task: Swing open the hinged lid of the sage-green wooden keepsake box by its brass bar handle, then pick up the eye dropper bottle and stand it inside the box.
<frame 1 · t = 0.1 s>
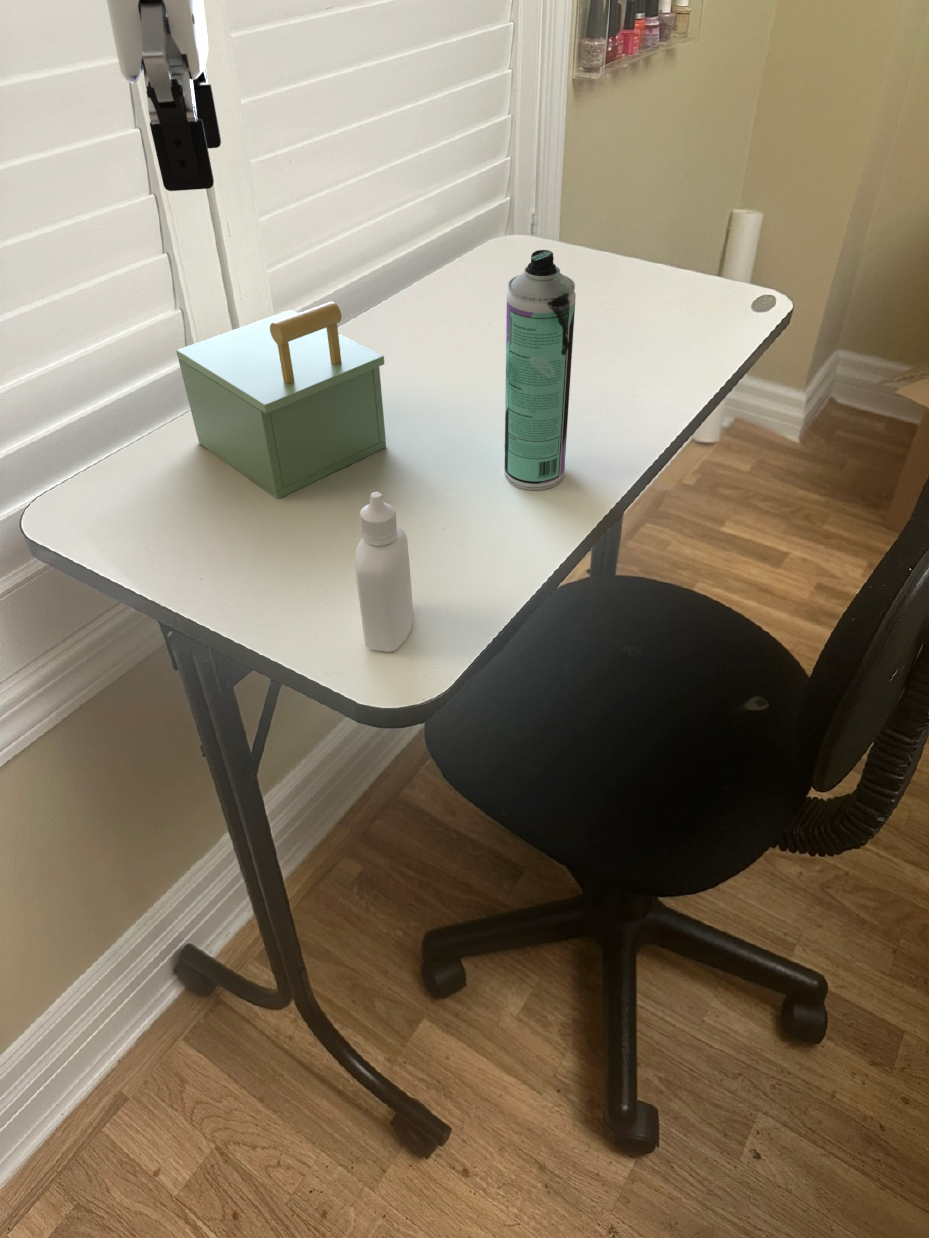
hand: (195, 167, 63), 27 cm above the table, tool pointing down, fingers open, 9 cm apart
chest: (291, 445, 88), on the table
eye dropper bottle: (389, 630, 68), on the table
lid: (274, 328, 80), point 12 cm above the table, hinge at 0.0°
spray can: (534, 475, 83), on the table
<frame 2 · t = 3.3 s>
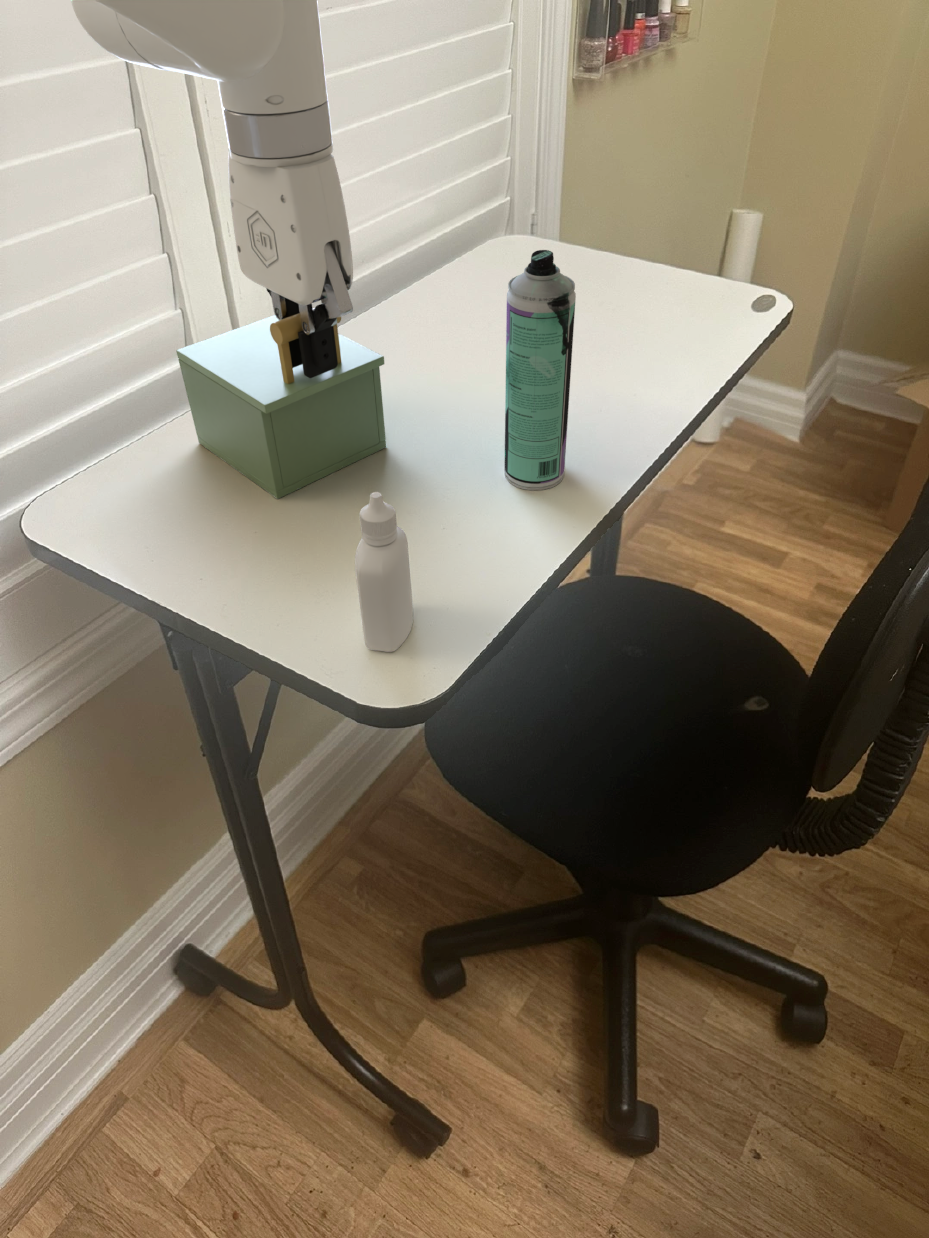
hand: (312, 365, 78), 10 cm above the table, tool pointing down, fingers closed on lid, 2 cm apart
lid: (274, 329, 80), point 12 cm above the table, hinge at 0.0°, touching gripper
everything else where it was.
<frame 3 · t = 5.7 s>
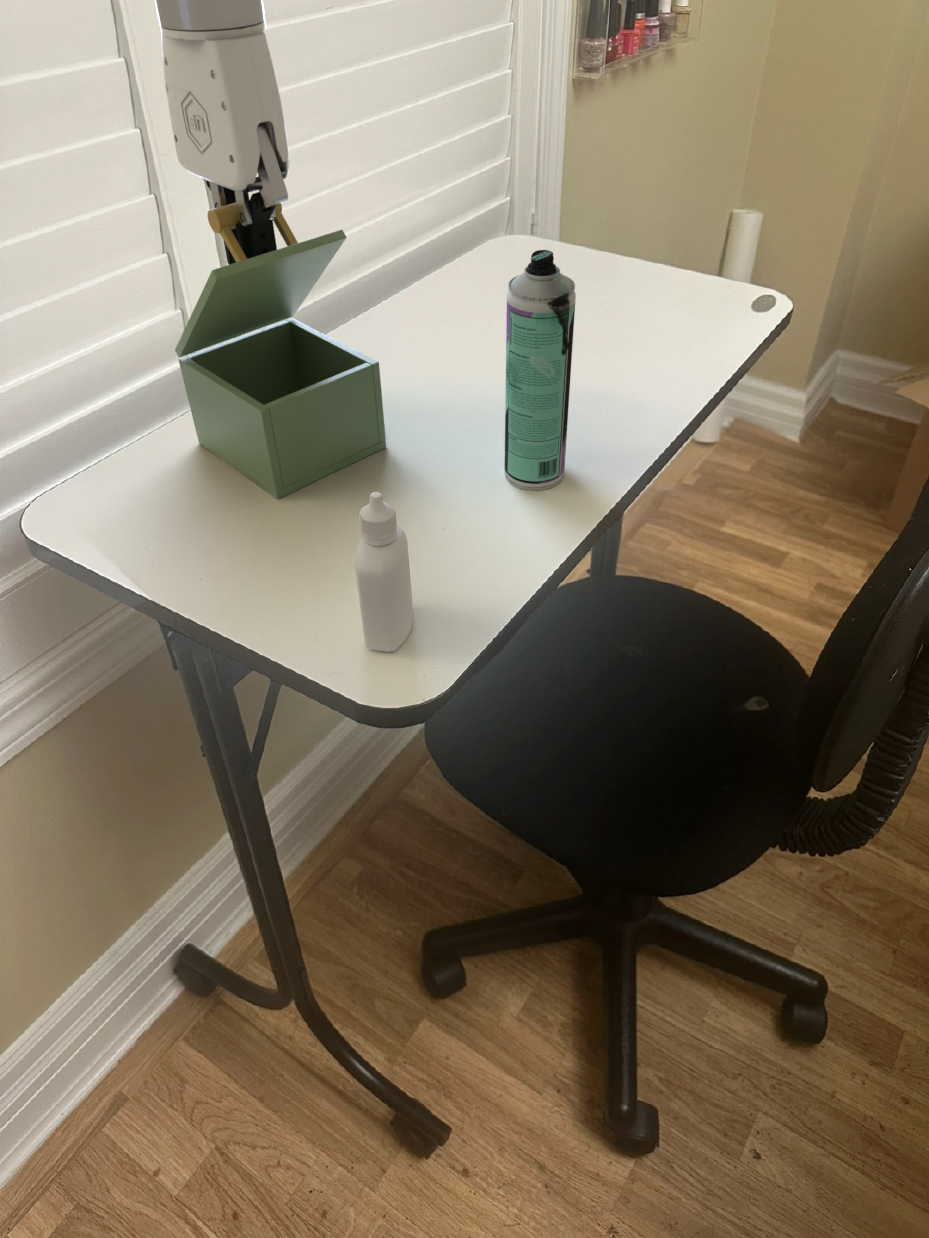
hand: (253, 264, 77), 17 cm above the table, tool pointing down, fingers closed on lid
lid: (242, 268, 79), point 16 cm above the table, hinge at 44.1°, touching gripper
everything else where it was.
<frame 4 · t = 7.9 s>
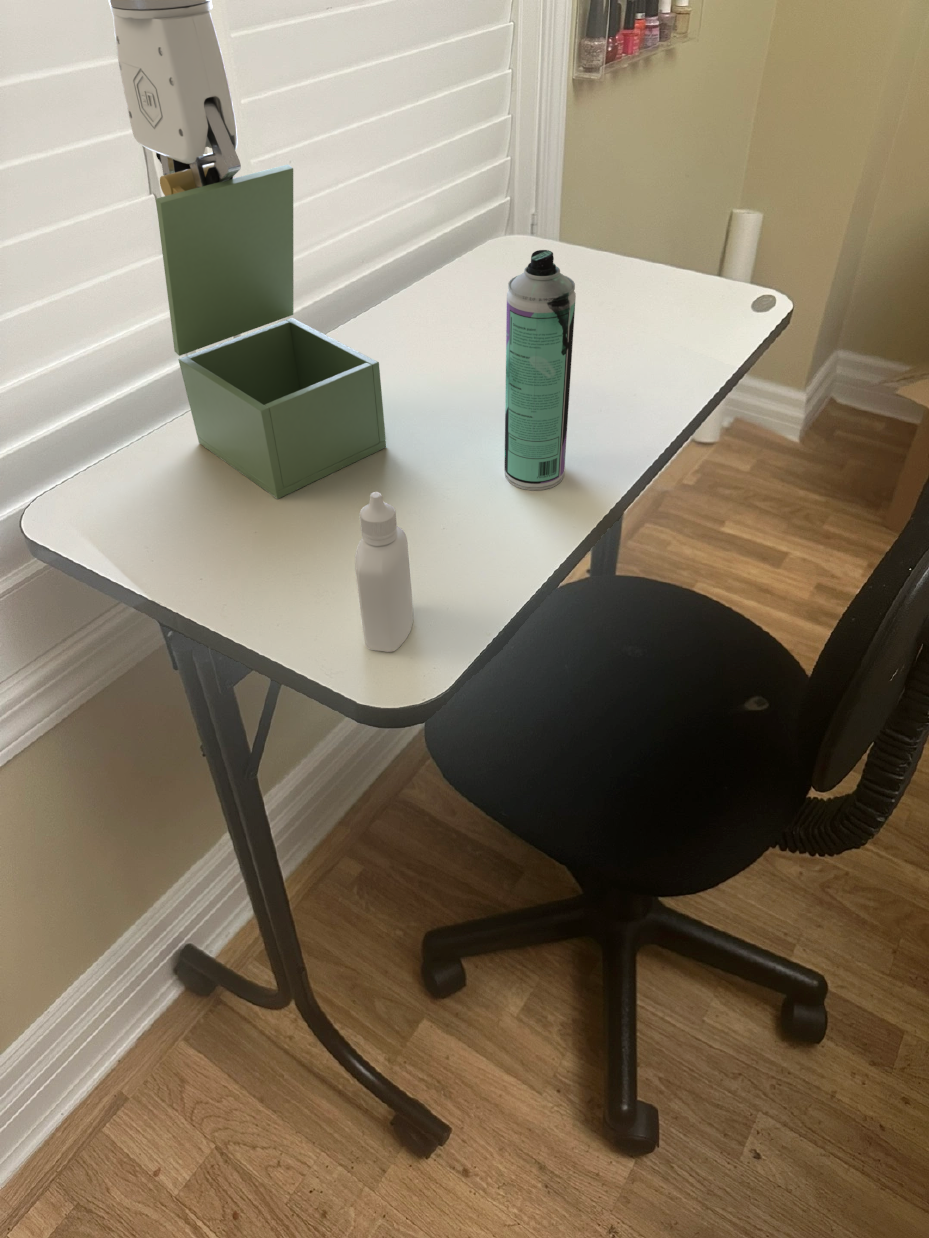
hand: (208, 235, 80), 18 cm above the table, tool pointing down, fingers open, 3 cm apart
lid: (215, 248, 81), point 17 cm above the table, hinge at 75.9°, touching gripper
everything else where it was.
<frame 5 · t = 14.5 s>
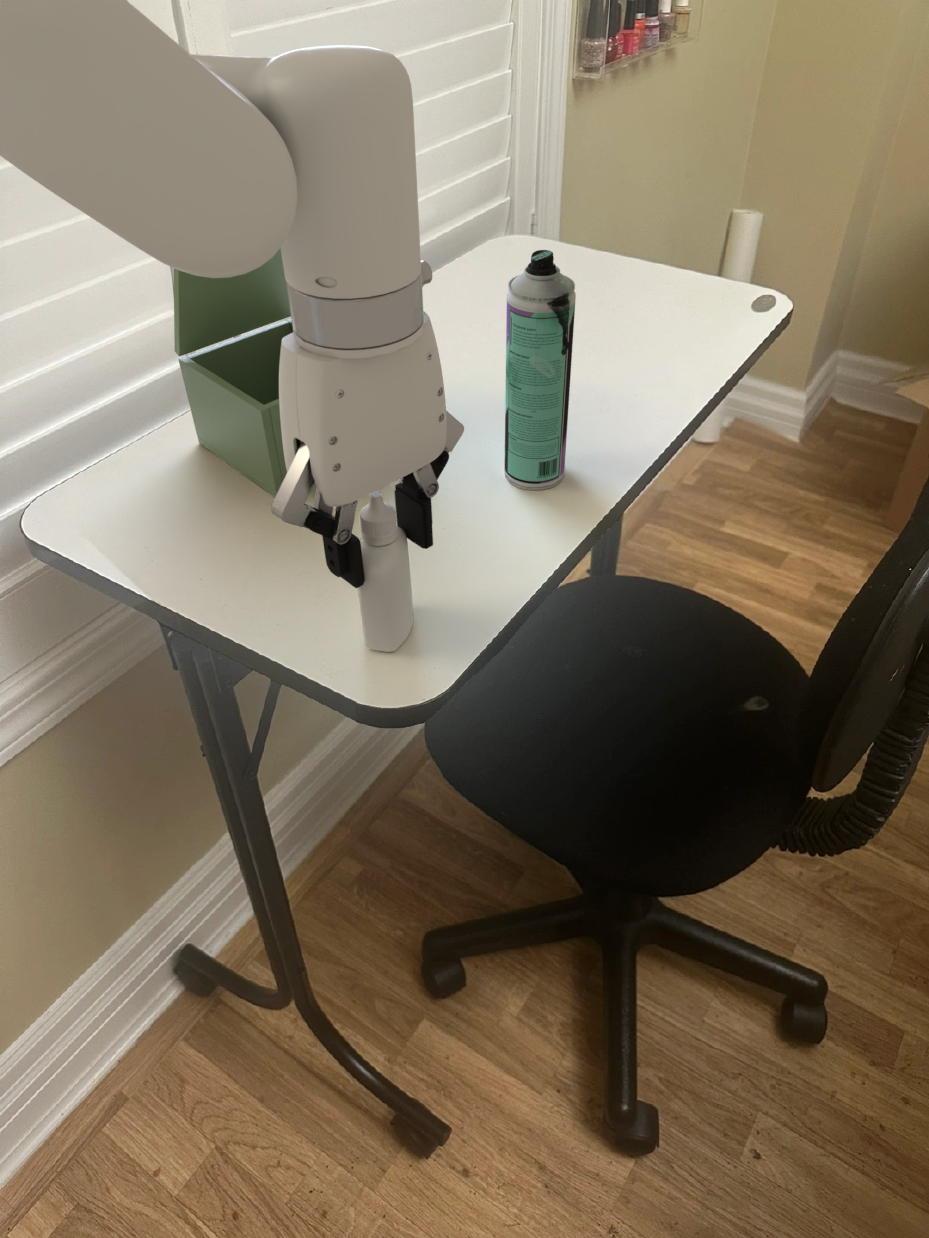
hand: (382, 556, 63), 7 cm above the table, tool pointing down, fingers closed on eye dropper bottle, 5 cm apart
eye dropper bottle: (389, 630, 68), on the table, touching gripper
lid: (222, 251, 80), point 17 cm above the table, hinge at 66.2°
everything else where it was.
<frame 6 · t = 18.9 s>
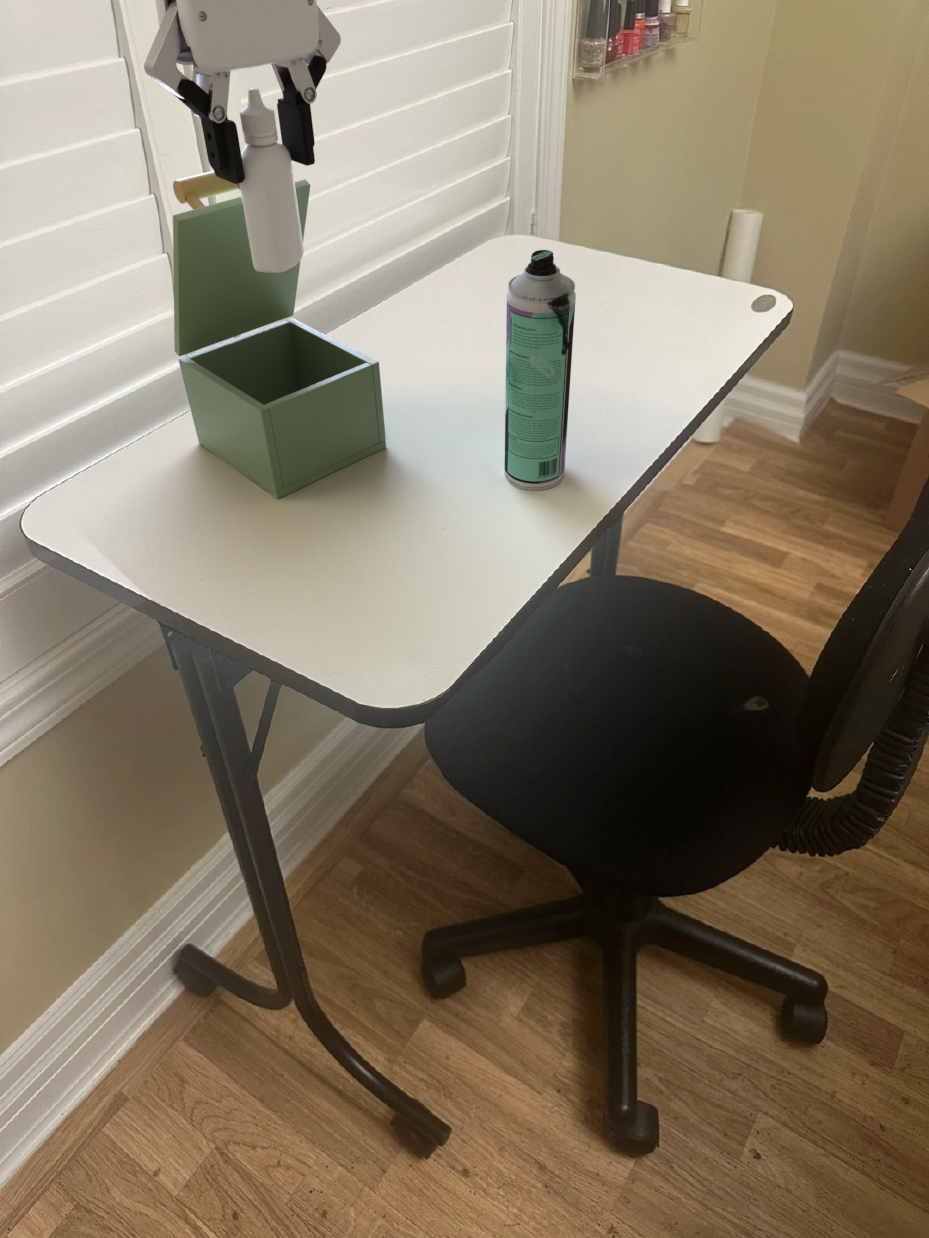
hand: (265, 167, 67), 26 cm above the table, tool pointing down, fingers closed on eye dropper bottle, 5 cm apart
eye dropper bottle: (280, 264, 71), point 19 cm above the table, touching gripper
everything else where it was.
when the fingers open (8 cm above the table, at t = 23.7 s): eye dropper bottle stays where it is, resting on chest.
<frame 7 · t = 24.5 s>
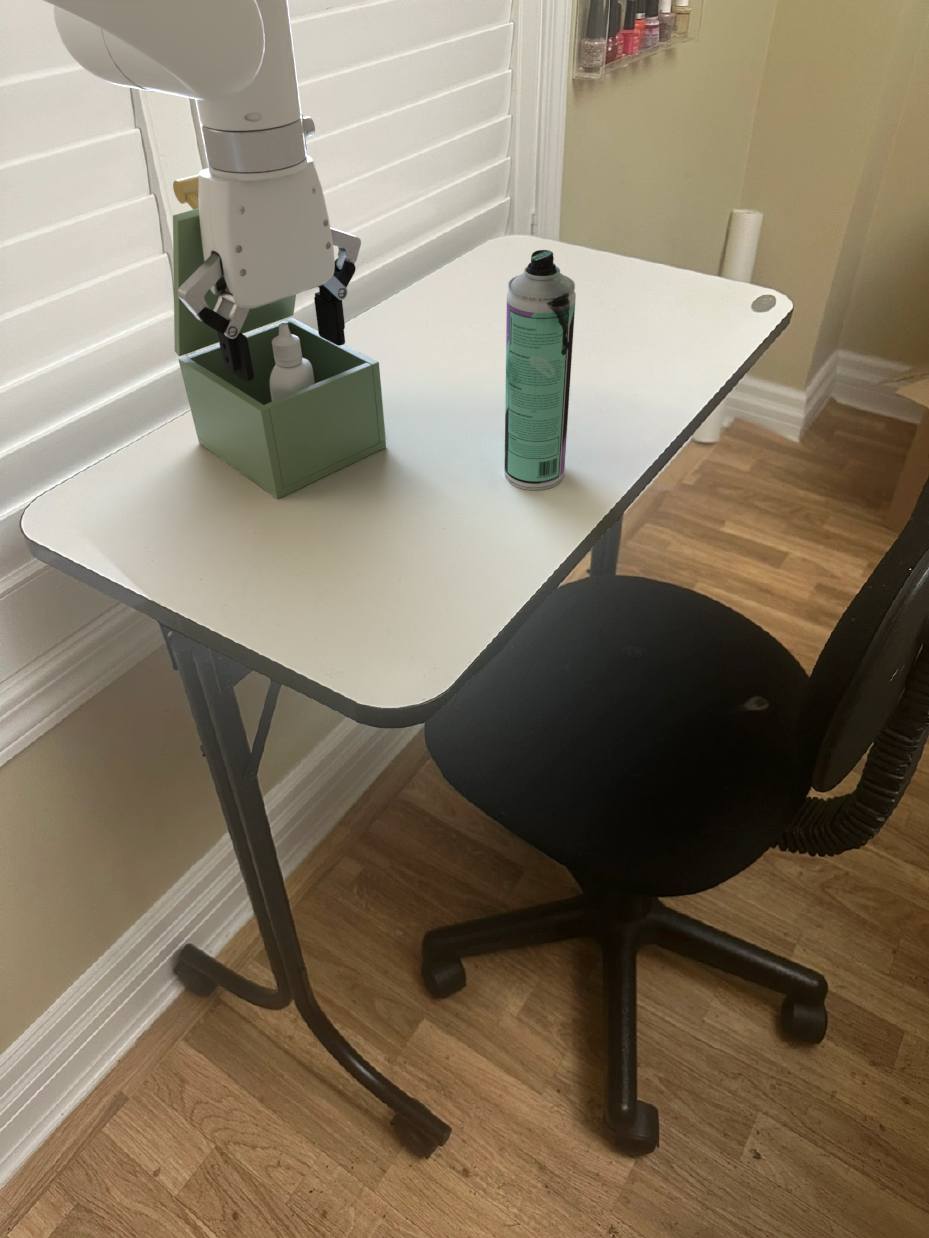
hand: (288, 357, 80), 10 cm above the table, tool pointing down, fingers open, 9 cm apart
eye dropper bottle: (302, 448, 86), point 1 cm above the table, touching chest
everything else where it was.
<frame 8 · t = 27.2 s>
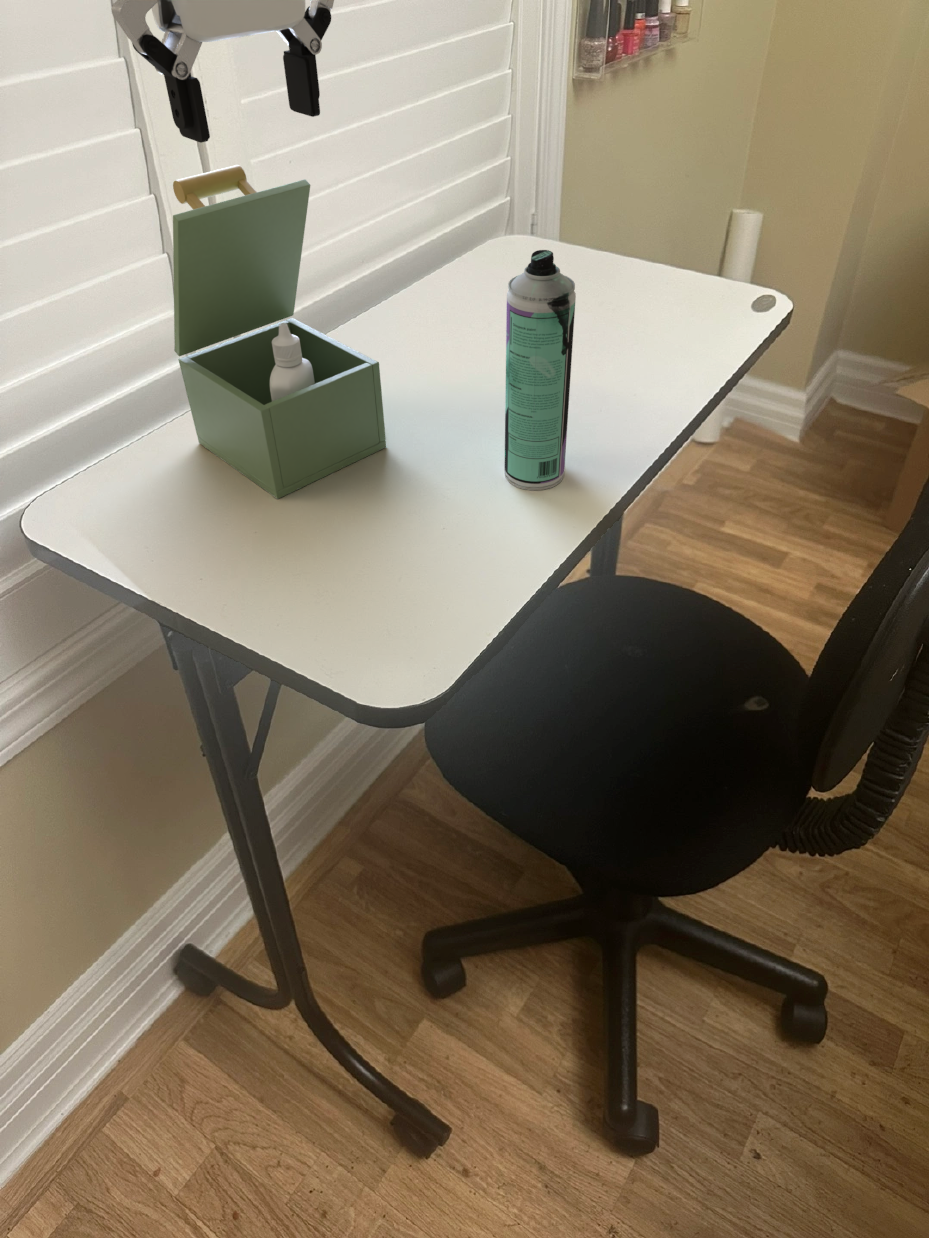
hand: (252, 125, 68), 28 cm above the table, tool pointing down, fingers open, 9 cm apart
nothing on the table moved.
at the end: lid at +66° (first picture: +0°); eye dropper bottle inside the target area in the chest (2.0 cm from its centre), point 0.6 cm above the chest's base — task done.
